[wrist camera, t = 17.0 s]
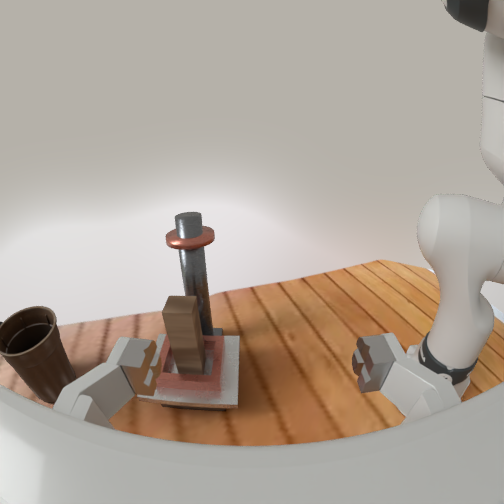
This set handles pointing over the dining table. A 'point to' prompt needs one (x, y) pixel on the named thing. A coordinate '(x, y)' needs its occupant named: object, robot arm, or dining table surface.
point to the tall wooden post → (185, 334)
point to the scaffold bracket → (216, 346)
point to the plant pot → (36, 351)
